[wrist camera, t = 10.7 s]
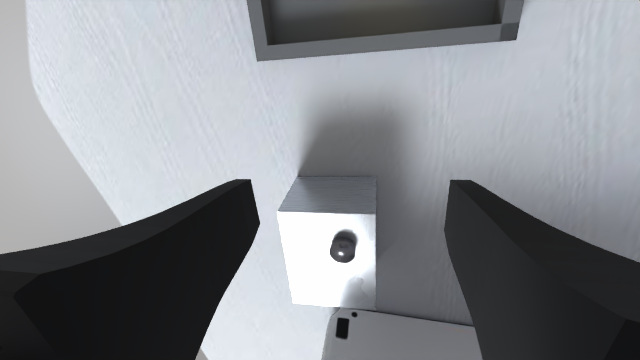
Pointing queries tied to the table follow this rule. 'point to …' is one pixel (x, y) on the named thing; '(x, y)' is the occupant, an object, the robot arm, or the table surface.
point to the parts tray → (376, 25)
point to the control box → (331, 241)
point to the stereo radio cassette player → (396, 338)
